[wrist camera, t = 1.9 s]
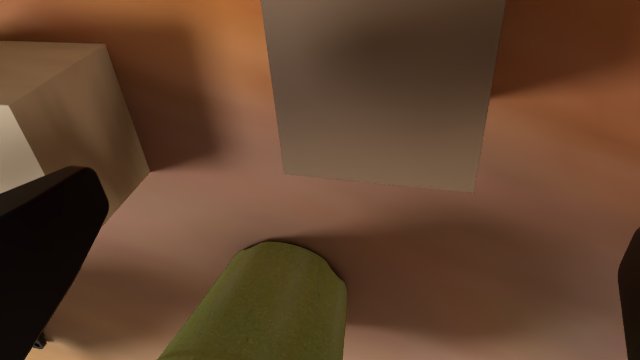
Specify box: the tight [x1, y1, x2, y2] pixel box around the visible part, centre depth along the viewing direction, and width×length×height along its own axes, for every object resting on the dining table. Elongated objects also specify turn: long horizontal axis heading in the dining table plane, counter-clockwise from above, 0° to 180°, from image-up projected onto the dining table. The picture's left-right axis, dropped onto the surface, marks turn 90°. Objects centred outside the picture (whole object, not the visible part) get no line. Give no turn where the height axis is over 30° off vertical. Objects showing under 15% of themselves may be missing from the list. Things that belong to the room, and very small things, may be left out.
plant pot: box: [157, 242, 347, 360], centre depth 20 cm, size 9×9×9 cm
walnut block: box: [261, 0, 506, 193], centre depth 13 cm, size 5×5×5 cm
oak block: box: [0, 41, 150, 226], centre depth 19 cm, size 6×6×5 cm
